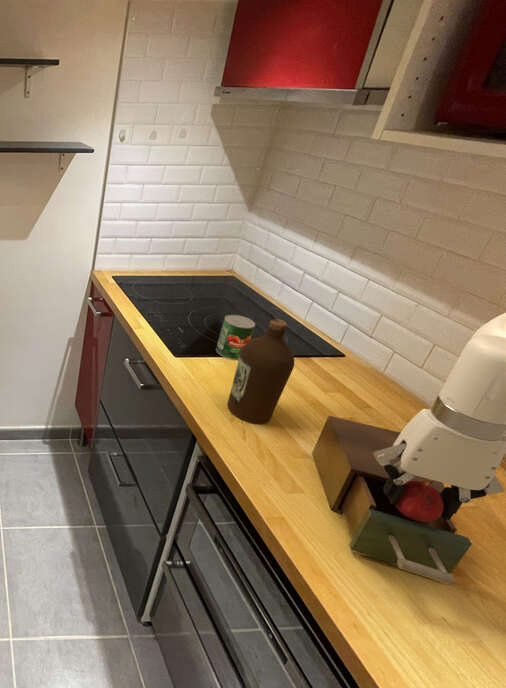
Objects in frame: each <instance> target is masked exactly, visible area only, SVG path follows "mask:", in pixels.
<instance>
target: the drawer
mask: <svg viewBox="0 0 506 688" xmlns="http://www.w3.org/2000/svg"><path fill="white" fill-rule="evenodd" d="M385 483H386V481H382V480H379V479H375V478H371V477H368V476H364V475H360V474H357V473H355V474H354V476H353V478H352V480H351V482H350V484H349V486H348V488H347V490H346V492H345V494H344V496H343V498H342V500H341V502H340V505H341V508H342V511H343V513H342V514H343V517H344V519H345V522H346V525H347V528H348V529H349V533H350V535H351V541H350V542H349V544H348V545H349V548H350V551H353V552H356V553H359V554H362V555H365V556H368V557H372V558H374V559H377V560H381V561H384V562H386V563H390V564H393V565H396V566H397V567H398V568H399V569H400V570H404V571H407V572H409V573H413V574H416V575H419V576H422V577H425V578H427V579H431V580H434V581H437V582H441V583H444V584H447V585H448V586H452V585H454V583H455V578H454V576H453V574H452V572H453V571H454V570H455V568H456V567H457V566H458V564H459V563H460V562H461V560H462V559H463V557H464V556H465V555H466V553H467V552H468V550H469V549H470V548H471V546H472V544H473V543H472V541H471V540H470V539H469V537H467V536H464V535H461V534H457V533H456V532H457V531H458V529H457V527H456V525H455V523H454V522H453V521H452V518H451V519H450V520H446V519H444V518H442V516H440V517H439V518H437V519H435V520H433V521H429V522H423V521H416V520H413V519H410V518H407V517H406V516H405V515H403V514H402V513H401V512H400V511H399V510H398V508H397V507H396V505H393V504H391V503H390V501H389V499H388V497H387V495H386V494H385V493H384V491H383V487H384V485H385Z"/></svg>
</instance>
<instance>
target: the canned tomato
mask: <svg viewBox="0 0 506 688" xmlns="http://www.w3.org/2000/svg"><path fill="white" fill-rule="evenodd" d="M255 327H256V323H255V322H254V320H252V319H250V318H249V317H246V316H242V315H240V314H239V315H238V314H228V315H227V314H226V315H225V316H224V319H223V322H222V326H221V329H220V333H219V336H218V341H217V343H216V348H215V351H216V353H217V354H218V355H219V356H221V357H222V358H225V359H228V360H233V361H238V360H239V355H240V352H241V350H242V348H243V346H244V345H245V344H246V343H247V342H248V341H250V340H252V336H253V333H254V330H255Z"/></svg>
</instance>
